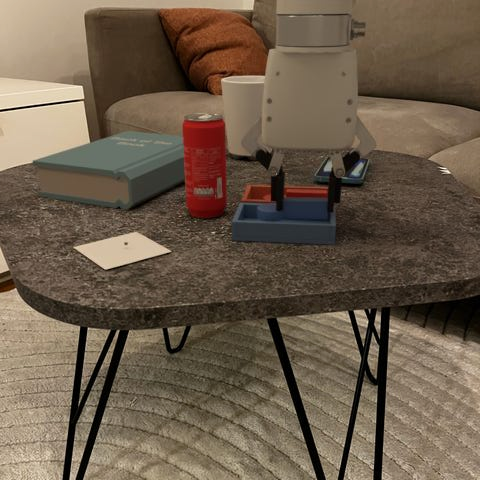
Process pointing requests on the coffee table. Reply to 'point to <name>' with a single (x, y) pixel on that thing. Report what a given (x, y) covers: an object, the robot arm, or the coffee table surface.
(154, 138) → the book
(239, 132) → the cup
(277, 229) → the blue tray
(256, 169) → the coffee table surface
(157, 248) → the coaster
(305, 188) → the red tray
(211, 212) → the beverage can
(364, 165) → the smartphone
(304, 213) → the blue rounded block
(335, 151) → the robot arm
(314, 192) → the red rounded block
